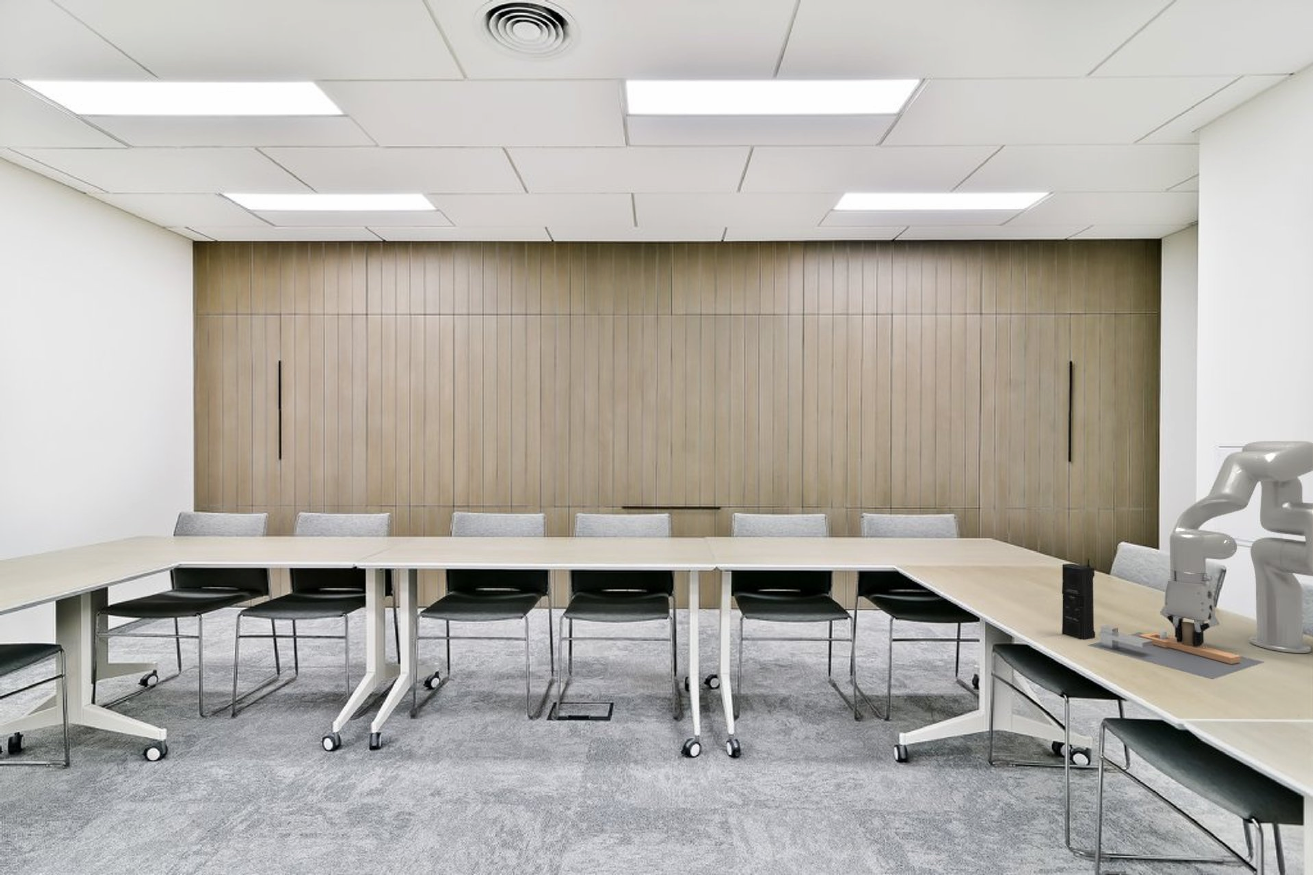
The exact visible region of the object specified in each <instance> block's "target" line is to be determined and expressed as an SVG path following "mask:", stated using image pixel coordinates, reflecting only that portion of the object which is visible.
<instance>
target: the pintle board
mask: <svg viewBox="0 0 1313 875" xmlns="http://www.w3.org/2000/svg"><path fill="white" fill-rule="evenodd" d="M1142 634H1146V633H1143V632H1136V633H1131V634H1130V635H1132V636H1136V637H1139V635H1142ZM1159 634H1160V639H1162V640H1163V639H1167V636H1168V632H1167V630H1164V629H1162V630H1159ZM1087 646H1089V647H1093V648H1095V649H1100V650H1103V651H1105V652H1106V651H1108V652H1111V653H1114V654H1118V655H1120V656H1121V655H1122V656H1124V657H1129V658H1132V659H1136V660H1140V661H1142V662H1143V661H1144V662H1146V663H1151V664H1154V665H1158V666H1162V667H1165V668H1168V669H1172V670H1173V669H1174V670H1175V671H1176V670H1177V671H1180V672H1183V673H1184V672H1185V673H1187V674H1191V675H1194V676H1195V675H1196V676H1199V677H1202V678H1206V679H1209V680H1215V679H1218V678H1221V677H1224V676H1227V675H1230V674H1233V673H1235V672H1239V671H1242V670H1245V669H1248V668H1252V667H1254V666H1257V665H1260V664H1263V663H1264V661H1261V660H1258V659H1253V658H1250V657H1245V656H1241V655H1239V656H1240V657H1241V662H1238V663H1234V664H1229V663H1225V662H1222V661H1218V660H1214V659H1211V658H1207V657H1203V656H1200V655H1196V654H1192V653H1189V652H1185V651H1181V650H1178V649H1174V648H1170V647H1167V648H1164V647H1161V646H1157V645H1150V646H1147V647H1143V648H1142V647H1138V646H1134V645H1131V644H1127V643H1123V642H1119V641H1118V647H1117V648H1113V649H1112V648H1108V647H1104V646H1101V641H1098V642H1093V643H1090V644H1087Z"/></svg>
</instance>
